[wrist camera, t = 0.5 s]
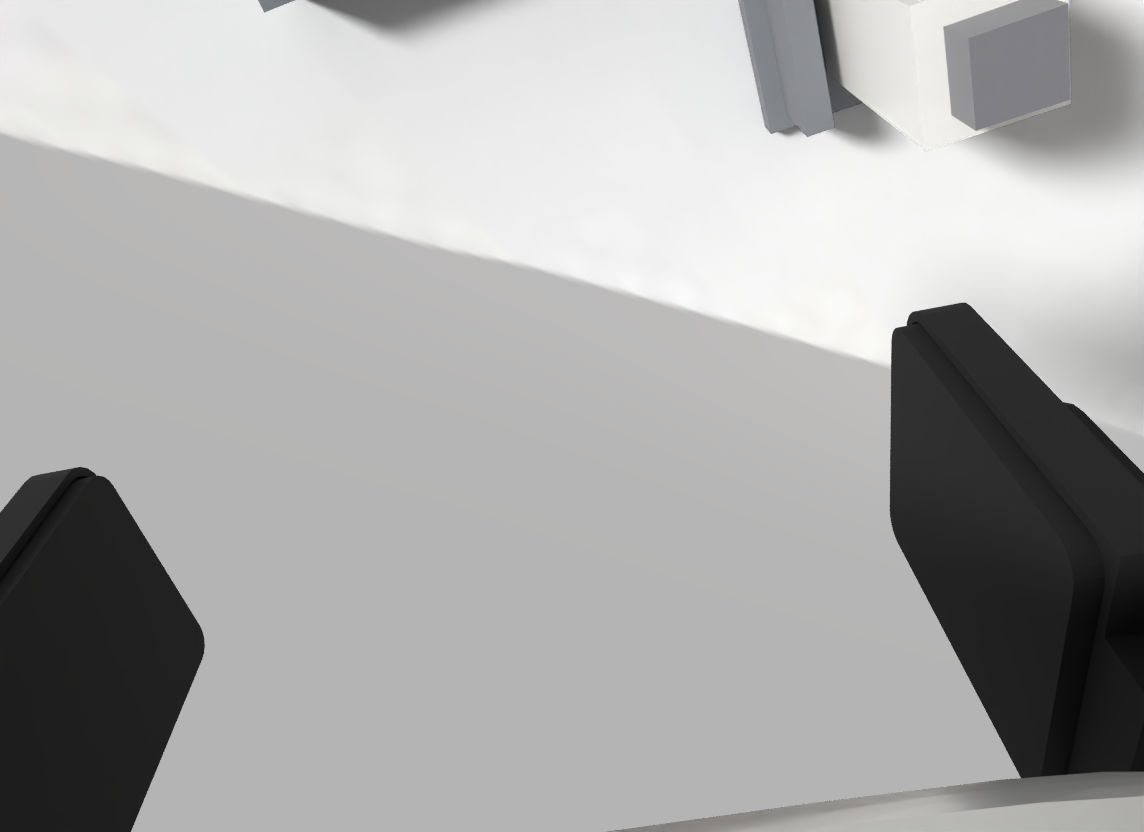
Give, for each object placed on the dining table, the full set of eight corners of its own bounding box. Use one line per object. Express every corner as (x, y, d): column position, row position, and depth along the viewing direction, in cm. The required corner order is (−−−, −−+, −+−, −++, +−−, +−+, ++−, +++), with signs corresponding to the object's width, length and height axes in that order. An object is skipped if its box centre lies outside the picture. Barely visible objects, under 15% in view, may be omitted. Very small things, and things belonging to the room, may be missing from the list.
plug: (921, -80, 30) (1102, -44, 21) (933, 37, 32) (1102, 119, 23) (808, -38, 31) (932, 16, 21) (827, 74, 33) (947, 169, 23)
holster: (979, -156, 30) (1034, -156, 27) (992, 48, 34) (1042, 71, 30) (725, -59, 31) (748, -48, 28) (765, 127, 35) (789, 156, 32)
